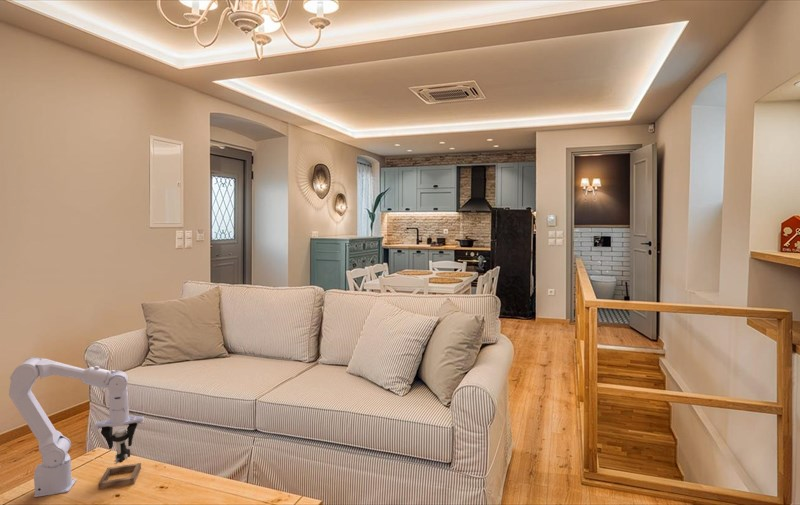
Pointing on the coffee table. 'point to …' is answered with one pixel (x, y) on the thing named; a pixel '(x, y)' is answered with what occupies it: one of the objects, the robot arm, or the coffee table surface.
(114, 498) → the coffee table surface
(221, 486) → the coffee table surface
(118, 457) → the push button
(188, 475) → the coffee table surface
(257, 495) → the coffee table surface
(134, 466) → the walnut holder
